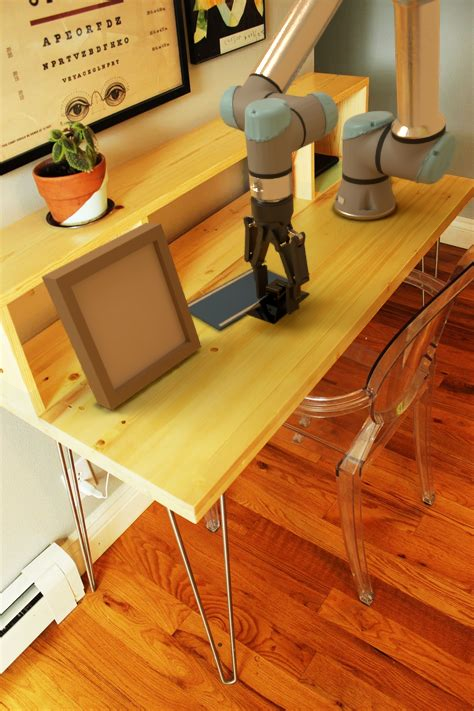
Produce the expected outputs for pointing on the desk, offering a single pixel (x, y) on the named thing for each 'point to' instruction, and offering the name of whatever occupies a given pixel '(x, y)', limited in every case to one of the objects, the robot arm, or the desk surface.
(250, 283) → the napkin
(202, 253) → the desk surface
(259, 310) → the build plate
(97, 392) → the photo frame
